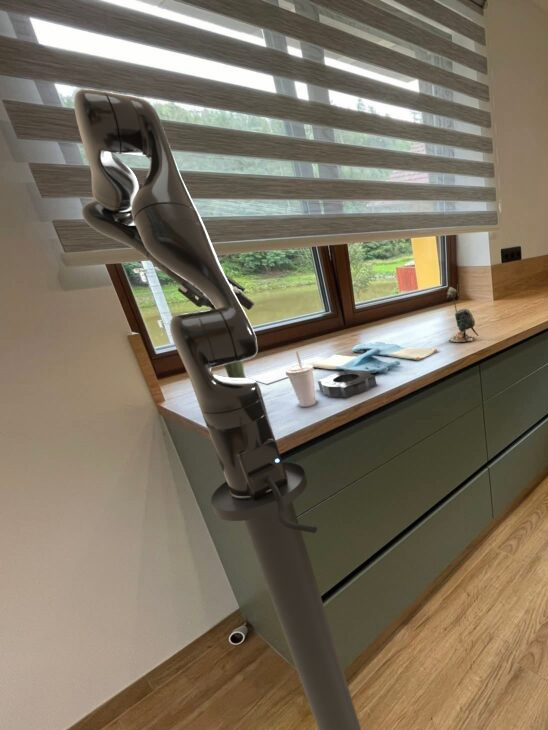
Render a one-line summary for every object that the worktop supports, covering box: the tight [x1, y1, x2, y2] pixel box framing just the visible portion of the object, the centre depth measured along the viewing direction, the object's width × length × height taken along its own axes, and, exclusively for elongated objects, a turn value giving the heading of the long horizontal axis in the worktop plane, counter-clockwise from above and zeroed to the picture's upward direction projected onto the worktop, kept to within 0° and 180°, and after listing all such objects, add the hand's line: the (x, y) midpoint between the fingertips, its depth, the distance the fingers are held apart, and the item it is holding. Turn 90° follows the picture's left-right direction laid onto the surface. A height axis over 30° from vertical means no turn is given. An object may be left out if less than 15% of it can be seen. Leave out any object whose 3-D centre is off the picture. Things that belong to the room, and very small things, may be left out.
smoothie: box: [285, 350, 317, 408], centre depth 107 cm, size 6×6×14 cm
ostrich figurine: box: [446, 286, 480, 343], centre depth 154 cm, size 8×11×20 cm
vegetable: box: [223, 360, 247, 378], centre depth 108 cm, size 4×4×20 cm
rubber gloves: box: [307, 341, 438, 374], centre depth 141 cm, size 27×33×6 cm
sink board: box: [317, 369, 378, 399], centre depth 118 cm, size 13×13×3 cm
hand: (240, 310), depth 102 cm, fingers open, 8 cm apart
